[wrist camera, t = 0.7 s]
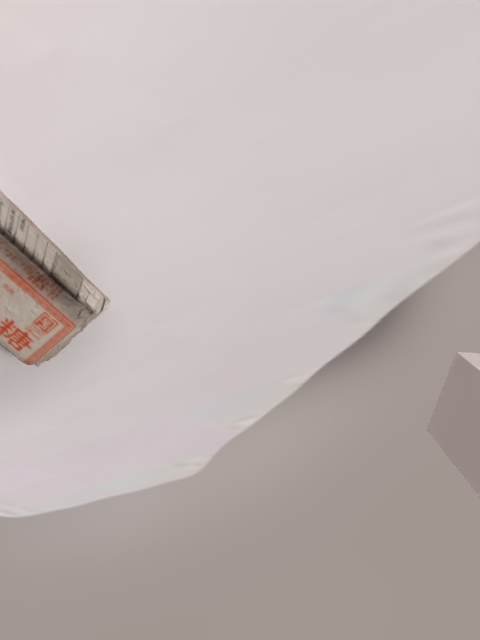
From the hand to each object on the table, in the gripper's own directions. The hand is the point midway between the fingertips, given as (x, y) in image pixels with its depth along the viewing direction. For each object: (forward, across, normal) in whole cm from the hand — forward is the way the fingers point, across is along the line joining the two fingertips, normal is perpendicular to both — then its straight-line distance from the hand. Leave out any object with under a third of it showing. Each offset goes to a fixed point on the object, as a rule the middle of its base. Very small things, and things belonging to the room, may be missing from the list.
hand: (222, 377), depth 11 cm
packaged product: (+26, -18, -5) cm, 32 cm away
